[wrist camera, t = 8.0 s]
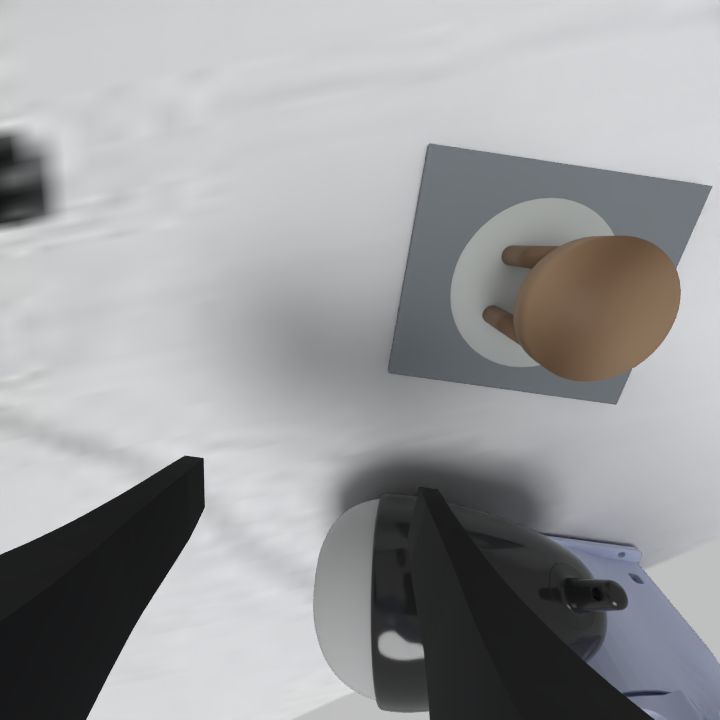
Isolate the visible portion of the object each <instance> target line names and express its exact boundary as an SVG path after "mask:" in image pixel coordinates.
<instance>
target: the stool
mask: <svg viewBox="0 0 720 720" xmlns="http://www.w3.org/2000/svg"><path fill="white" fill-rule="evenodd" d="M501 258H502V261H503V263H505V264H506V265H510V266H517V267H523V268H529V269H531V271H530V272H529V274H528V275H527V276H526V278H525V280H524V281H523V283H522V285H521V287H520V289H519V292H518V294H517V297H516V301H515V305H514V311H513V314H511V313H509V312H507V311H505V310H503V309H501V308H499V307H497V306H493V305H492V306H488V307H486V308H485V309H484V311H483V313H482V317H483V320H484V321H485V322H487V323H488V324H490V325H491V326H492V327H494V328H495V329H497V330H498V331H500V332H501V333H503V334H504V335H506V336H507V337H508V338H510V339H511V340H513V341H514V342H516V343H517V344H519V345H520V346H521V347H522V348H523V350H524V351H525V352H526V353H527V354H528V356H530V357H531V358H532V359H533V360H534V361H536V362H537V363H539V364H540V365H541V366H543V367H544V368H546V369H547V370H548V371H550V372H552V373H553V374H555V375H557V376H559V377H562V378H565V379H568V380H572V381H580V382H591V381H600V380H605V379H609V378H612V377H615V376H618V375H620V374H622V373H625V372H627V371H629V370H630V369H632V368H634V367H636V366H637V365H638V364H640V363H641V362H643V361H644V360H645V359H646V358H648V357H649V356H650V355H651V354H652V353H653V352H654V351H655V350H656V349H657V348H658V347H659V346H660V344H661V343H662V342H663V340H664V339H665V338H666V336H667V334H668V333H669V331H670V329H671V328H672V325H673V323H674V321H675V319H676V316H677V312H678V309H679V304H680V292H681V289H680V280H679V277H678V273H677V270H676V268H675V266H674V264H673V262H672V261H671V259H670V258H669V256H668V255H667V254H666V253H665V252H664V251H663V250H662V249H660V248H659V247H658V246H656V245H655V244H653V243H651V242H649V241H647V240H644V239H641V238H638V237H633V236H591V237H584V238H580V239H576V240H573V241H570V242H568V243H565V244H563V245H561V246H520V245H511V246H508V247H506V248H505V249H504V250H503V252H502V256H501Z"/></svg>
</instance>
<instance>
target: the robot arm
mask: <svg viewBox="0 0 720 720" xmlns="http://www.w3.org/2000/svg"><path fill="white" fill-rule="evenodd" d="M204 508H205V499H204V458H199V457H191V456H184V457H182V458H180V459H178V460H177V461H175V462H173V463H172V464H170V465H169V466H167V467H165V468H164V469H162V470H160V471H159V472H157V473H156V474H154V475H152V476H151V477H149V478H148V479H146V480H144V481H143V482H141V483H139V484H138V485H136V486H134V487H133V488H131V489H129V490H128V491H126V492H124V493H123V494H121V495H119V496H118V497H116V498H114V499H112V500H110V501H109V502H107V503H105V504H103V505H101V506H100V507H98V508H96V509H94V510H92V511H91V512H89V513H87V514H85V515H83V516H82V517H80V518H78V519H76V520H74V521H72V522H70V523H68V524H66V525H64V526H62V527H60V528H58V529H56V530H54V531H52V532H50V533H48V534H46V535H44V536H41V537H39V538H37V539H35V540H33V541H31V542H29V543H26V544H24V545H22V546H20V547H17V548H15V549H13V550H10V551H8V552H5V553H3V554H1V555H0V720H86V719H87V717H88V715H89V713H90V711H91V709H92V707H93V705H94V703H95V701H96V699H97V697H98V695H99V693H100V691H101V689H102V687H103V685H104V683H105V681H106V679H107V677H108V675H109V673H110V671H111V669H112V668H113V666H114V664H115V662H116V660H117V658H118V656H119V654H120V652H121V651H122V649H123V647H124V645H125V643H126V641H127V639H128V637H129V635H130V634H131V632H132V630H133V628H134V626H135V625H136V623H137V621H138V620H139V618H140V616H141V615H142V613H143V611H144V610H145V608H146V606H147V605H148V603H149V602H150V600H151V599H152V597H153V595H154V594H155V592H156V591H157V589H158V588H159V586H160V585H161V583H162V581H163V580H164V578H165V577H166V575H167V574H168V572H169V570H170V569H171V567H172V566H173V564H174V563H175V561H176V559H177V558H178V556H179V555H180V553H181V551H182V550H183V548H184V547H185V545H186V543H187V542H188V540H189V539H190V537H191V535H192V533H193V531H194V529H195V527H196V525H197V523H198V521H199V518H200V516H201V514H202V512H203V510H204ZM544 536H545V535H544ZM546 537H548V538H550V539H552V540H553V541H555V542H557V543H558V544H560V545H562V546H563V547H565V548H566V549H568V550H569V551H571V552H572V553H573V554H574V555H576V556H577V557H578V558H579V559H580V560H581V561H582V562H583V563H584V564H585V565H586V567H587V568H588V569H589V571H590V572H591V573H592V575H593V576H594V578H595V579H606V580H613V581H615V582H617V583H619V584H620V585H621V586H622V587H623V589H624V590H625V592H626V594H627V597H628V606H627V607H626V608H625V609H624V610H620V611H607V620H608V623H607V632H606V637H605V640H604V643H603V645H602V647H601V648H600V650H599V651H598V653H597V654H596V655H595V656H594V657H593V658H592V659H591V660H590V661H589V662H588V663H586V662H585V661H584V660H583V659H582V658H580V657H579V656H578V655H577V654H576V653H575V652H574V651H573V650H572V649H571V648H569V647H568V646H567V645H566V644H565V643H564V642H563V641H562V640H561V639H560V638H559V637H558V636H557V635H556V634H555V633H554V632H553V631H552V630H551V629H550V628H549V627H548V626H547V625H546V624H545V623H544V622H543V621H541V620H540V618H539V617H538V616H537V615H536V614H535V613H534V612H533V611H532V610H531V609H530V608H529V607H528V606H527V605H526V604H525V603H524V602H523V601H522V600H521V598H520V597H519V596H518V595H517V594H516V593H515V592H514V591H513V590H512V589H511V588H510V586H509V585H508V584H507V583H506V582H505V581H504V580H503V578H502V577H501V576H500V575H499V574H498V572H497V571H496V570H495V569H494V567H493V566H492V565H491V564H490V562H489V561H488V560H487V559H486V557H485V556H484V555H483V554H482V552H481V551H480V550H479V548H478V547H477V546H476V544H475V543H474V541H473V540H472V539H471V537H470V536H469V535H468V533H467V532H466V530H465V529H464V528H463V526H462V525H461V523H460V522H459V520H458V519H457V517H456V516H455V514H454V513H453V511H452V510H451V508H450V507H449V505H448V504H447V502H446V501H445V499H444V498H443V496H442V495H441V493H440V492H439V491H438V489H432V488H424V487H419V491H418V495H417V499H416V503H415V507H414V511H413V515H412V520H411V524H410V528H409V532H408V543H409V561H410V571H411V577H412V583H413V589H414V596H415V602H416V608H417V614H418V620H419V626H420V632H421V638H422V644H423V650H424V658H425V666H426V677H427V689H428V701H429V714H430V720H720V664H719V663H718V661H717V660H716V658H715V656H714V655H713V653H712V652H711V651H710V649H709V648H708V647H707V646H706V644H705V643H704V642H703V641H702V639H700V637H699V636H698V635H697V633H696V632H695V631H694V630H693V629H692V628H691V626H690V625H689V624H688V623H687V622H686V620H685V619H684V618H683V617H682V615H681V614H680V613H679V612H678V611H677V609H676V608H675V607H674V606H673V605H672V603H671V602H670V601H669V600H668V599H667V597H666V596H665V595H664V594H663V593H662V591H661V590H660V589H659V588H658V587H657V585H656V584H655V583H654V582H653V581H652V579H651V578H650V577H649V576H648V575H647V573H646V572H645V571H644V570H643V569H642V567H641V566H640V565H639V564H638V562H639V560H640V559H641V556H642V553H641V552H640V551H639V550H638V549H637V548H635V547H628V546H621V545H613V544H605V543H598V542H590V541H583V540H575V539H567V538H560V537H552V536H546Z"/></svg>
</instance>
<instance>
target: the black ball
mask: <svg viewBox="0 0 720 720" xmlns="http://www.w3.org/2000/svg"><path fill="white" fill-rule="evenodd" d="M416 499H417V496H411V495H403V494H383V495H382V496H381V497H380V499H375V500H370V501H366V502H363V503H360V504H358V505H356V506H354V507H352V508H350V509H349V510H347V511H346V512H345V513H343V514H342V515H341V516H340V517H339V518H338V519H337V520H336V521H335V523H334V524H333V526H332V527H331V529H330V530H329V532H328V534H327V536H326V538H325V540H324V542H323V545H322V547H321V551H320V554H319V558H318V563H317V569H316V575H315V584H314V599H313V612H314V624H315V630H316V634H317V638H318V642H319V645H320V648H321V651H322V653H323V656H324V658H325V660H326V661H327V663H328V665H329V666H330V668H331V669H332V671H333V672H334V673H335V675H336V676H337V677H338V678H339V679H340V680H341V681H342V682H343V683H344V684H346V685H347V686H348V687H349V688H351V689H352V690H354V691H355V692H357V693H359V694H361V695H363V696H365V697H368V698H370V699H373V700H376V702H377V705H378V707H379V708H380V709H381V710H384V711H390V712H402V713H413V712H427V711H429V701H428V689H427V677H426V666H425V658H424V650H423V644H422V638H421V632H420V626H419V620H418V614H417V608H416V602H415V596H414V589H413V583H412V577H411V571H410V561H409V543H408V532H409V528H410V524H411V520H412V515H413V511H414V507H415V503H416ZM447 504H448V505H449V507H450V508H451V510H452V511H453V513H454V514H455V516H456V517H457V519H458V520H459V522H460V523H461V525H462V526H463V528H464V529H465V530H466V532H467V533H468V535H469V536H470V537H471V539H472V540H473V541H474V543H475V544H476V546H477V547H478V548H479V550H480V551H481V552H482V554H483V555H484V556H485V557H486V559H487V560H488V561H489V562H490V564H491V565H492V566H493V567H494V569H495V570H496V571H497V572H498V574H499V575H500V576H501V577H502V578H503V580H504V581H505V582H506V583H507V584H508V585H509V586H510V588H511V589H512V590H513V591H514V592H515V593H516V594H517V595H518V596H519V597H520V598H521V600H522V601H523V602H524V603H525V604H526V605H527V606H528V607H529V608H530V609H531V610H532V611H533V612H534V613H535V614H536V615H537V616H538V617H539V618H540V620H541V621H543V622H544V623H545V624H546V625H547V626H548V627H549V628H550V629H551V630H552V631H553V632H554V633H555V634H556V635H557V636H558V637H559V638H560V639H561V640H562V641H563V642H564V643H565V644H566V645H567V646H568V647H569V648H571V649H572V650H573V651H574V652H575V653H576V654H577V655H578V656H579V657H580V658H582V659H583V660H584V661H585V662H586V663H588V662H589V661H590V660H591V659H592V658H593V657H594V656H595V655H596V654H597V653H598V651H599V650H600V648H601V647H602V645H603V643H604V640H605V637H606V632H607V623H608V620H607V611H620V610H624V609H625V608H626V607H627V606H628V597H627V594H626V592H625V590H624V589H623V587H622V586H621V585H620V584H619V583H617V582H615V581H613V580H606V579H595V578H594V576H593V575H592V573H591V572H590V571H589V569H588V568H587V567H586V565H585V564H584V563H583V562H582V561H581V560H580V559H579V558H578V557H577V556H576V555H574V554H573V553H572V552H571V551H569V550H568V549H566V548H565V547H563V546H562V545H560V544H558V543H557V542H555V541H553V540H552V539H550V538H548V537H546V536H544V535H542V534H541V533H538V532H536V531H534V530H532V529H530V528H527V527H525V526H523V525H520V524H518V523H515V522H513V521H510V520H507V519H504V518H501V517H498V516H495V515H492V514H488V513H485V512H482V511H478V510H475V509H471V508H468V507H464V506H461V505H457V504H453V503H448V502H447Z"/></svg>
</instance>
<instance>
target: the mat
mask: <svg viewBox="0 0 720 720" xmlns="http://www.w3.org/2000/svg"><path fill="white" fill-rule="evenodd" d="M711 188H712V186H708V185H701V184H695V183H688V182H681V181H675V180H668V179H661V178H655V177H648V176H641V175H635V174H628V173H622V172H615V171H608V170H602V169H595V168H588V167H582V166H575V165H568V164H562V163H555V162H548V161H542V160H535V159H529V158H522V157H515V156H509V155H502V154H495V153H489V152H482V151H475V150H469V149H462V148H456V147H449V146H442V145H436V144H429V145H428V147H427V153H426V158H425V164H424V170H423V175H422V181H421V187H420V192H419V198H418V204H417V209H416V215H415V221H414V226H413V232H412V237H411V243H410V249H409V254H408V260H407V266H406V271H405V277H404V283H403V288H402V294H401V300H400V305H399V311H398V317H397V322H396V328H395V333H394V339H393V345H392V350H391V356H390V362H389V367H388V372H389V373H392V374H399V375H407V376H414V377H421V378H428V379H435V380H443V381H450V382H457V383H464V384H472V385H479V386H486V387H493V388H500V389H508V390H515V391H522V392H529V393H536V394H544V395H551V396H558V397H565V398H572V399H580V400H587V401H594V402H601V403H608V404H617V402H618V400H619V397H620V395H621V393H622V391H623V388H624V386H625V384H626V381H627V379H628V377H629V375H630V372H631V370H632V369H630V370H629V371H627V372H625V373H622V374H620V375H618V376H615V377H612V378H609V379H605V380H600V381H591V382H580V381H572V380H568V379H565V378H562V377H559V376H557V375H555V374H553V373H552V372H550V371H548V370H547V369H546V368H544V367H543V366H541V365H540V364H539V363H537V362H536V361H534V360H533V359H532V358H531V357H530V356H528V354H527V353H526V352H525V351H524V350H523V348H522V347H521V346H520V345H519V344H517V343H516V342H514V341H513V340H511V339H510V338H508V337H507V336H506V335H504V334H503V333H501V332H500V331H498V330H497V329H495V328H494V327H492V326H491V325H490V324H488V323H487V322H485V321H484V320H483V317H482V313H483V311H484V309H485V308H486V307H488V306H492V305H493V306H497V307H499V308H501V309H503V310H505V311H507V312H509V313H511V314H513V311H514V305H515V301H516V297H517V294H518V292H519V289H520V287H521V285H522V283H523V281H524V280H525V278H526V276H527V275H528V274H529V272H530V271H531V269H529V268H523V267H517V266H510V265H506V264H505V263H503V261H502V258H501V256H502V252H503V250H504V249H505V248H506V247H508V246H511V245H520V246H561V245H563V244H565V243H568V242H570V241H573V240H576V239H580V238H584V237H591V236H633V237H638V238H641V239H644V240H647V241H649V242H651V243H653V244H655V245H656V246H658V247H659V248H660V249H662V250H663V251H664V252H665V253H666V254H667V255H668V256H669V258H670V259H671V261H672V262H673V264H674V266H675V268H677V266H678V263H679V261H680V259H681V256H682V254H683V252H684V250H685V247H686V245H687V243H688V241H689V238H690V236H691V234H692V231H693V229H694V227H695V225H696V222H697V220H698V218H699V216H700V213H701V211H702V209H703V206H704V204H705V202H706V200H707V197H708V195H709V193H710V191H711Z"/></svg>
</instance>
